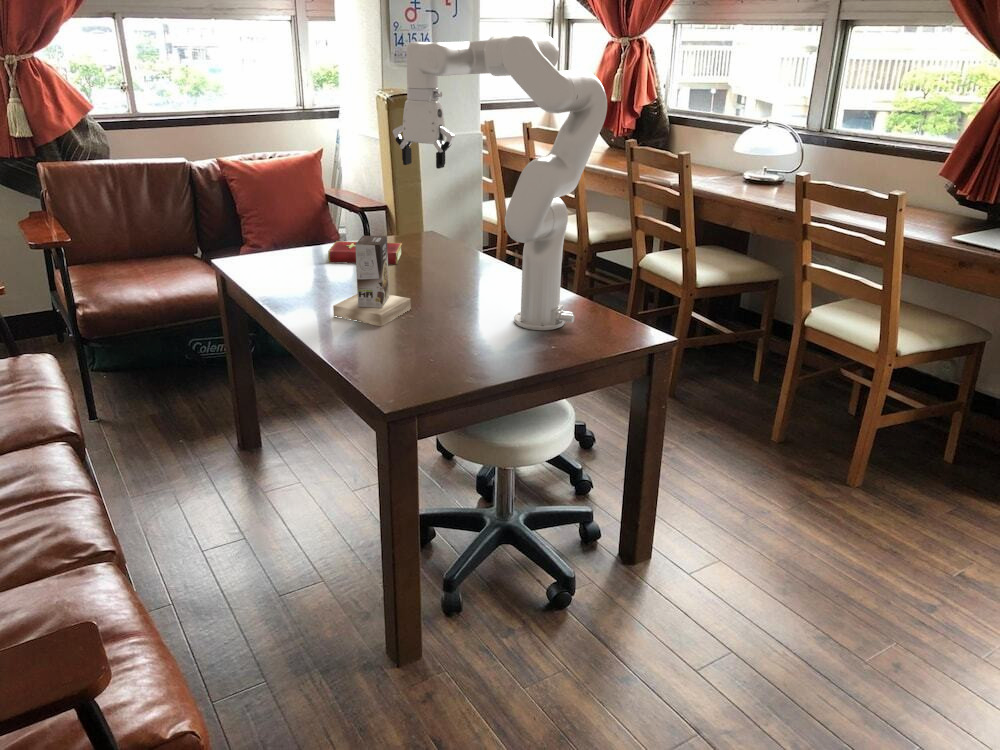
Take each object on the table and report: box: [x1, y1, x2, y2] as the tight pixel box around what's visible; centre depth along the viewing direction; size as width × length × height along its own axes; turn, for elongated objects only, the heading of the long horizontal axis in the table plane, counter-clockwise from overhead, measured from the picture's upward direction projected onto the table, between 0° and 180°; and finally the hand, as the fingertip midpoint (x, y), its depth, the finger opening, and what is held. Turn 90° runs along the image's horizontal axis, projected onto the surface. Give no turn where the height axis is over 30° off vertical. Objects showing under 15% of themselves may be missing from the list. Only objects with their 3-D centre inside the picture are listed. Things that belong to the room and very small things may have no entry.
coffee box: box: [355, 235, 390, 308], centre depth 202 cm, size 9×6×16 cm
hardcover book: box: [327, 240, 403, 265], centre depth 252 cm, size 12×21×4 cm, turn 89°
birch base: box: [332, 293, 412, 327], centre depth 206 cm, size 14×14×3 cm
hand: (423, 166), depth 208 cm, fingers open, 9 cm apart
